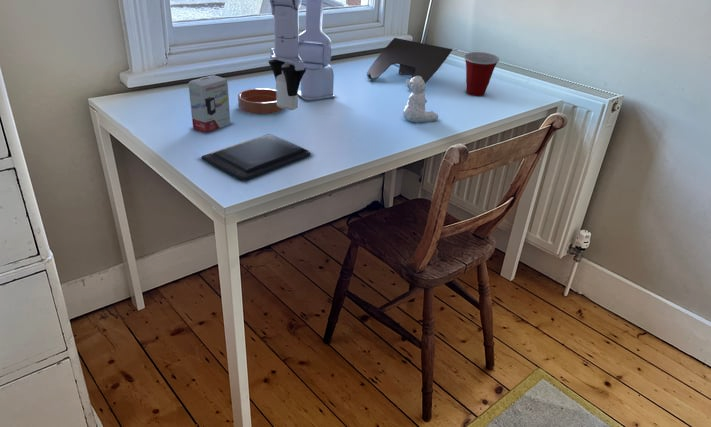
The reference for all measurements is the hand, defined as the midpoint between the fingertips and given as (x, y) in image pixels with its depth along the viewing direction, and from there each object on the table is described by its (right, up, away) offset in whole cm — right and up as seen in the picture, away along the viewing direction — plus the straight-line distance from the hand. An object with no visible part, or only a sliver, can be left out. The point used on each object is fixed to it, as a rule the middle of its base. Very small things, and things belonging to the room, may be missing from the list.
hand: (287, 92), depth 128 cm
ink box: (-19, -9, 0) cm, 21 cm away
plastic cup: (+56, +8, +37) cm, 68 cm away
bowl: (-9, -1, +14) cm, 16 cm away
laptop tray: (+34, +15, +45) cm, 59 cm away
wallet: (-5, -18, -14) cm, 24 cm away
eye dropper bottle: (0, -4, +2) cm, 4 cm away
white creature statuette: (+34, -5, +13) cm, 37 cm away
